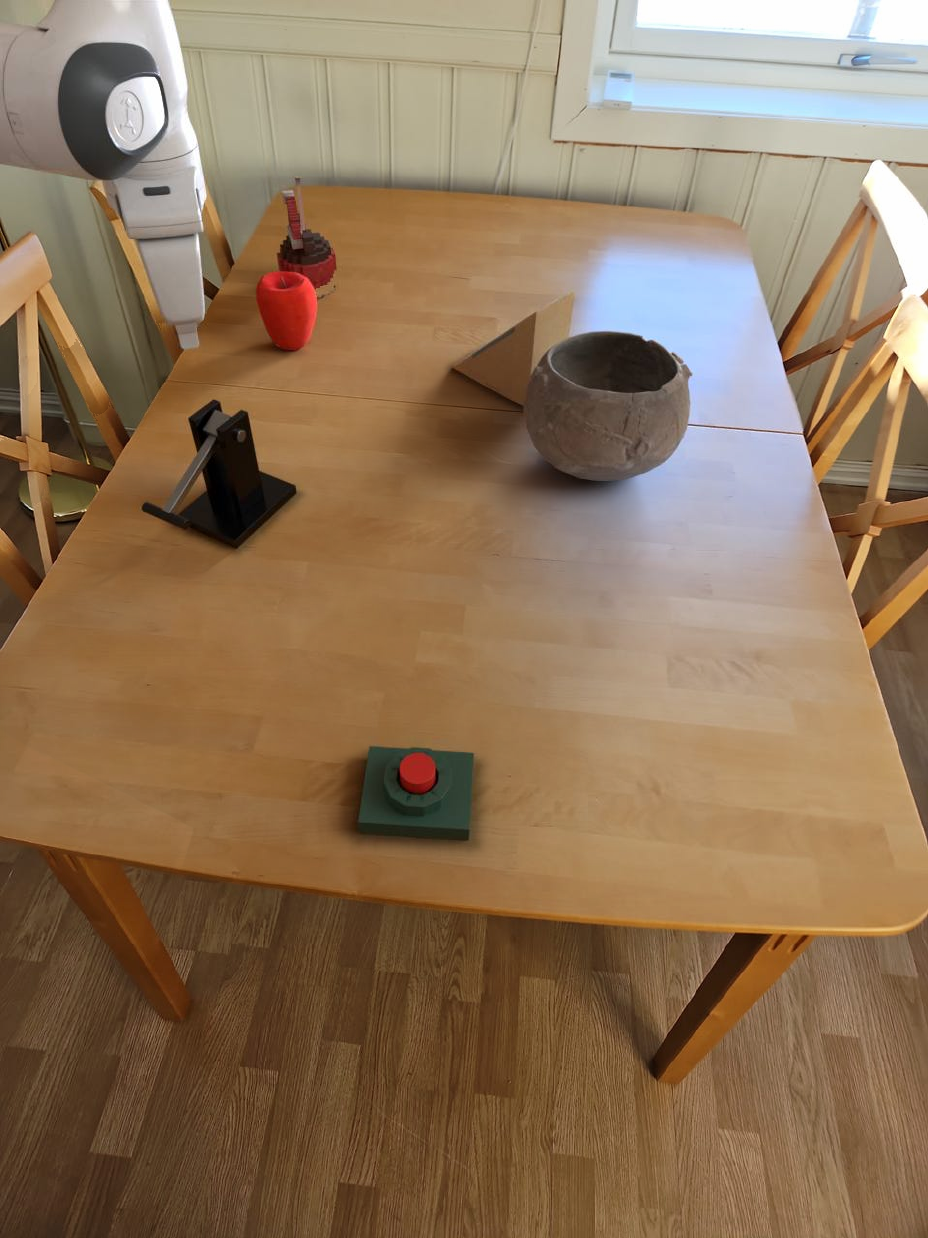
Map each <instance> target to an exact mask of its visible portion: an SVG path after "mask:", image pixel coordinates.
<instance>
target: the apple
mask: <svg viewBox="0 0 928 1238" xmlns="http://www.w3.org/2000/svg"><path fill="white" fill-rule="evenodd" d="M255 302H256V304H257V308H258V311H259V315H260V318H261V320H262V322H263V325H264V328H265V330H266V332H267V334H268V337H270V339H271V341H272V343H273V344H275V345H276V344H277V345H276V347H277V348H279V349H282V350H286V351H299V350H300V349H302V348H304V347H305V346H306V345H307V344H308V343H309V341H310V340H311V339H310V338H311V336H312V333H313V330H314V326H315V322H316V317H317V312H318V297H317V296H316V292H315V289H314V287H313V285H312V284H311V282H310V281H309V279H308V278H306V277H304V276H302V275H300V274H298V273H295V272H288V271H279V270H278V271H271V272H269V273H267V274H265V275H263V276H262V277H261V278H260V279H259V280H258V282H257V284H256V287H255ZM306 342H307V343H306ZM278 345H279V346H278Z"/></svg>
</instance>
